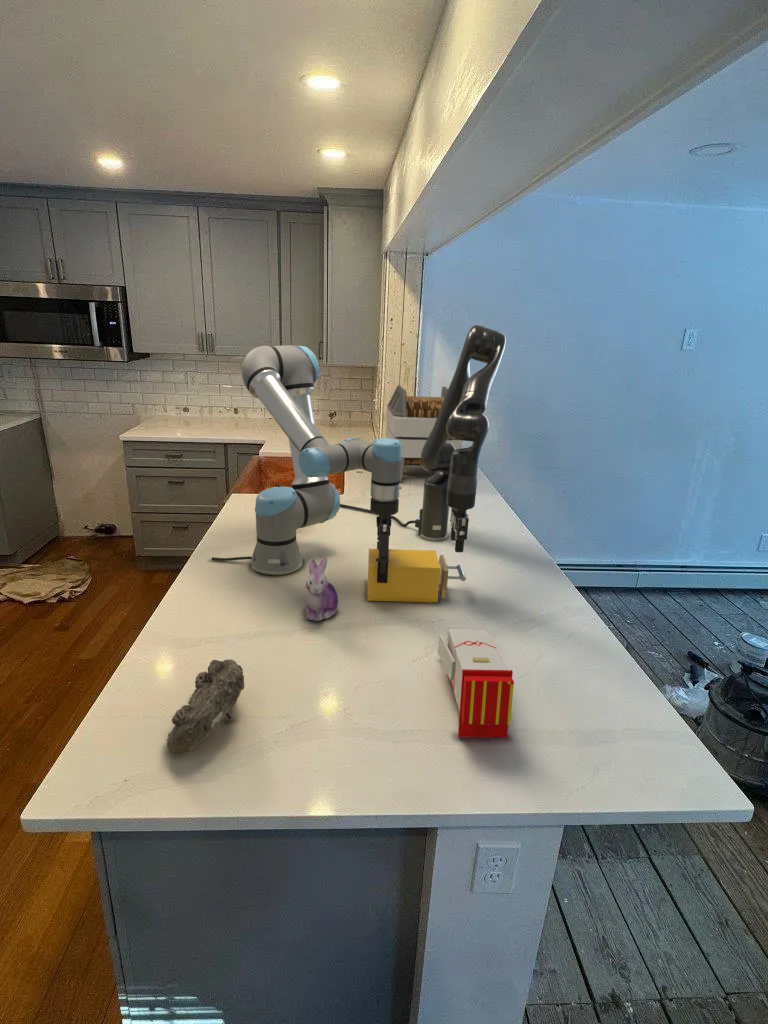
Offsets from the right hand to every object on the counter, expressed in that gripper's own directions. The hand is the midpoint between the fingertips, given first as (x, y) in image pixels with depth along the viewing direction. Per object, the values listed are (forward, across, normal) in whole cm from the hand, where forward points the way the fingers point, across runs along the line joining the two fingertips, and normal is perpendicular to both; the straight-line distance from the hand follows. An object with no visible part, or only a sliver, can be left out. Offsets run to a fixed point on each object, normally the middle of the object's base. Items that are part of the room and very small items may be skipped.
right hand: (456, 545), depth 155 cm
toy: (+14, -44, +3) cm, 46 cm away
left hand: (+9, 0, +20) cm, 22 cm away
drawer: (+13, 0, +9) cm, 16 cm away
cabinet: (+14, 0, +14) cm, 20 cm away
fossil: (+14, -53, +54) cm, 77 cm away
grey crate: (+14, +122, -2) cm, 123 cm away
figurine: (+14, -13, +36) cm, 41 cm away
